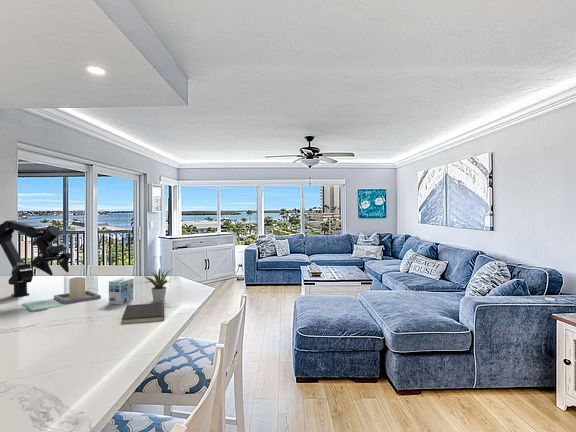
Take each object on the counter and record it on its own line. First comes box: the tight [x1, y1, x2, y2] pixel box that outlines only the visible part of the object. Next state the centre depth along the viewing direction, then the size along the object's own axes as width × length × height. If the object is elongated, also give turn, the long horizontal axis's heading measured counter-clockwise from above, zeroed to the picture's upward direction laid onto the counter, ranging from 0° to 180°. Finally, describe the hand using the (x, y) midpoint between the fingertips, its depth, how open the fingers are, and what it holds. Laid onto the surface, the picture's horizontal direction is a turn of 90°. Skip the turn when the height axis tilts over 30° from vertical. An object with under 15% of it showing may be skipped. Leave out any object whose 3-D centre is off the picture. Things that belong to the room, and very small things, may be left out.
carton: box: [68, 276, 86, 299], centre depth 191 cm, size 5×5×10 cm
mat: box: [21, 299, 63, 313], centre depth 177 cm, size 16×12×1 cm
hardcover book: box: [121, 302, 165, 324], centre depth 166 cm, size 16×23×2 cm
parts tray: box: [53, 290, 102, 305], centre depth 191 cm, size 16×16×2 cm
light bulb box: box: [108, 277, 135, 305], centre depth 187 cm, size 11×7×11 cm, turn 168°
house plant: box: [144, 268, 175, 303], centre depth 192 cm, size 14×14×16 cm
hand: (60, 273), depth 191 cm, fingers open, 9 cm apart
